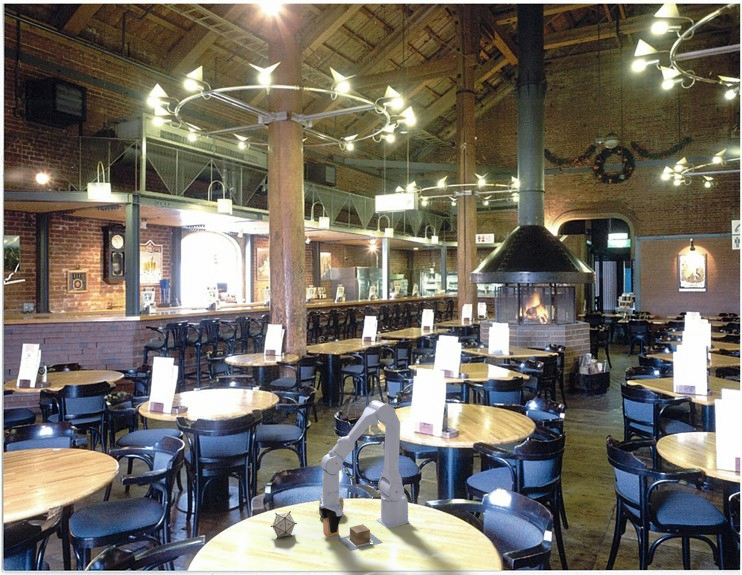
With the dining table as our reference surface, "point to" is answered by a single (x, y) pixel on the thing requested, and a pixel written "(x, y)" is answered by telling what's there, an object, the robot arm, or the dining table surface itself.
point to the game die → (283, 524)
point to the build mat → (353, 546)
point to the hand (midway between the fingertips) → (330, 529)
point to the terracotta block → (328, 528)
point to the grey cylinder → (339, 501)
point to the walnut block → (359, 534)
